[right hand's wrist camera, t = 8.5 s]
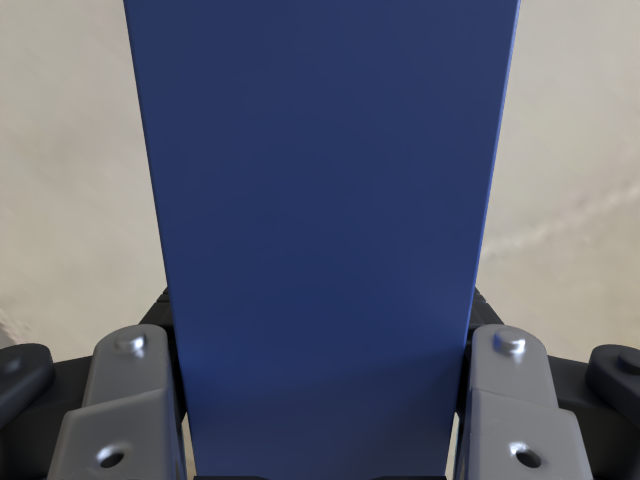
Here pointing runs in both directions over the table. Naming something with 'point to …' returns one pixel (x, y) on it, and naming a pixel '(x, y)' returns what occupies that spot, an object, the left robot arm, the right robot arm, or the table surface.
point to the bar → (321, 220)
